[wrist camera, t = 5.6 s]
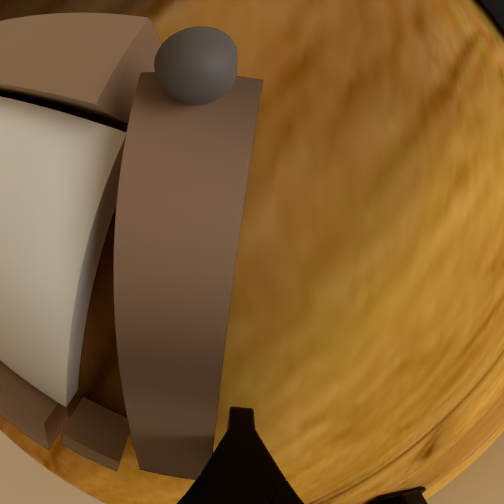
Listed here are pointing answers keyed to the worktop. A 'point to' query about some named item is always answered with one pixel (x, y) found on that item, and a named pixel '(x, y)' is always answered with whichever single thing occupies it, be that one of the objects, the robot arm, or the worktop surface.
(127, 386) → the leg
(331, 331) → the worktop surface
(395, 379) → the worktop surface
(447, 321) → the worktop surface
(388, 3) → the worktop surface
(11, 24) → the seat
